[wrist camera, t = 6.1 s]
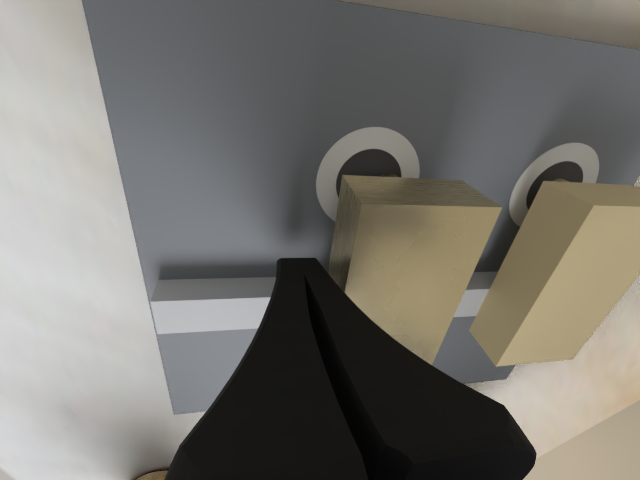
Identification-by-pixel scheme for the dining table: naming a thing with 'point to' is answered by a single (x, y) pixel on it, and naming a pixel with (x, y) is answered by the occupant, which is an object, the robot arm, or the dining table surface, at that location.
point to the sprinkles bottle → (154, 476)
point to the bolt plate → (365, 165)
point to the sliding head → (409, 252)
